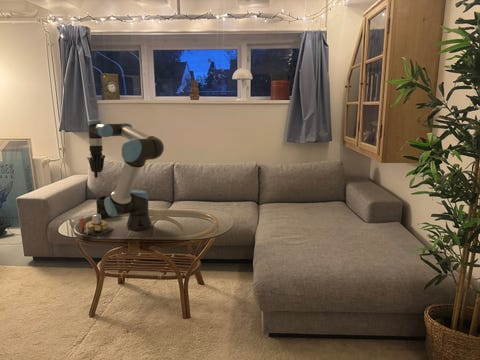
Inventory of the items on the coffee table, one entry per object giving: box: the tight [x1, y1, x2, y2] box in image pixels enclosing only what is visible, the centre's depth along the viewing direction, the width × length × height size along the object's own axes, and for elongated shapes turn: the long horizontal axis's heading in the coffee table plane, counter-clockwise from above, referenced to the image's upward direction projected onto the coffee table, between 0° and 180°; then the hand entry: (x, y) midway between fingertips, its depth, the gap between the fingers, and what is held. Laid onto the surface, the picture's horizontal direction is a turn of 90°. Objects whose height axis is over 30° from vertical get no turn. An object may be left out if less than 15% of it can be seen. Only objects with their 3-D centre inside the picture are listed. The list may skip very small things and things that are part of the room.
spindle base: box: [83, 213, 114, 237], centre depth 221 cm, size 13×15×10 cm
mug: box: [95, 195, 111, 218], centre depth 253 cm, size 11×15×12 cm
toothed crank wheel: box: [78, 217, 109, 234], centre depth 221 cm, size 16×12×8 cm
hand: (97, 182), depth 235 cm, fingers closed
